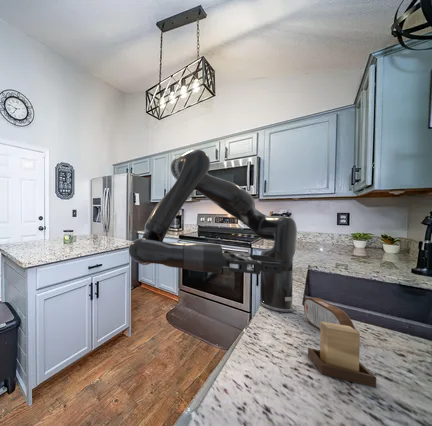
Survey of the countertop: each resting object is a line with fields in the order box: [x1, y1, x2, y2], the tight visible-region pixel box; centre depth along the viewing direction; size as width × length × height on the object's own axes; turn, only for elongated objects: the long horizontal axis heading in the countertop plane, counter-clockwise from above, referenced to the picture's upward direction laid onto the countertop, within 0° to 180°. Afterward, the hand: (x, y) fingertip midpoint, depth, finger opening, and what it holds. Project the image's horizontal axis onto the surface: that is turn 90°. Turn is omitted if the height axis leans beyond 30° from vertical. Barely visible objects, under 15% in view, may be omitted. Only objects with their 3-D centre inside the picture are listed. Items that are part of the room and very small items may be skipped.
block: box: [319, 322, 361, 372], centre depth 45 cm, size 3×5×9 cm, turn 67°
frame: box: [307, 347, 377, 388], centre depth 45 cm, size 6×8×2 cm
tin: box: [303, 297, 356, 330], centre depth 60 cm, size 15×3×8 cm, turn 168°
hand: (275, 264), depth 50 cm, fingers open, 8 cm apart
